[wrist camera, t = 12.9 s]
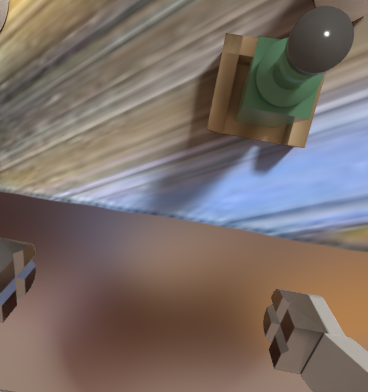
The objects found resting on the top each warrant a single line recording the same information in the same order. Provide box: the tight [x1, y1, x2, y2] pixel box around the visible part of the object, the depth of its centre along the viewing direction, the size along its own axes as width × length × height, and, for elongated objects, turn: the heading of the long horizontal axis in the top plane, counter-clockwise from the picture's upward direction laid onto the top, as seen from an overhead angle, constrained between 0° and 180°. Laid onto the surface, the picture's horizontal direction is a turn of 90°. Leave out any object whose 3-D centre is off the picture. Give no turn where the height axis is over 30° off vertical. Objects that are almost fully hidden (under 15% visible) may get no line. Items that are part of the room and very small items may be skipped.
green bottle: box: [235, 6, 354, 128], centre depth 25 cm, size 5×5×24 cm
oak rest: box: [207, 33, 326, 148], centre depth 35 cm, size 12×11×5 cm
